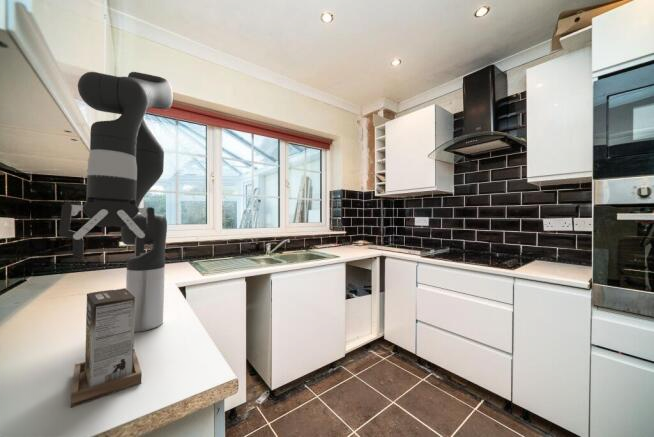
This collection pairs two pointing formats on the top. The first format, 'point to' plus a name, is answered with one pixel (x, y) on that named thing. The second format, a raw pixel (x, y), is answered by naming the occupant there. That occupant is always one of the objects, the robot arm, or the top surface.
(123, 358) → the coffee box
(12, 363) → the top surface
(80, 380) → the shallow square tray
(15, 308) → the top surface
